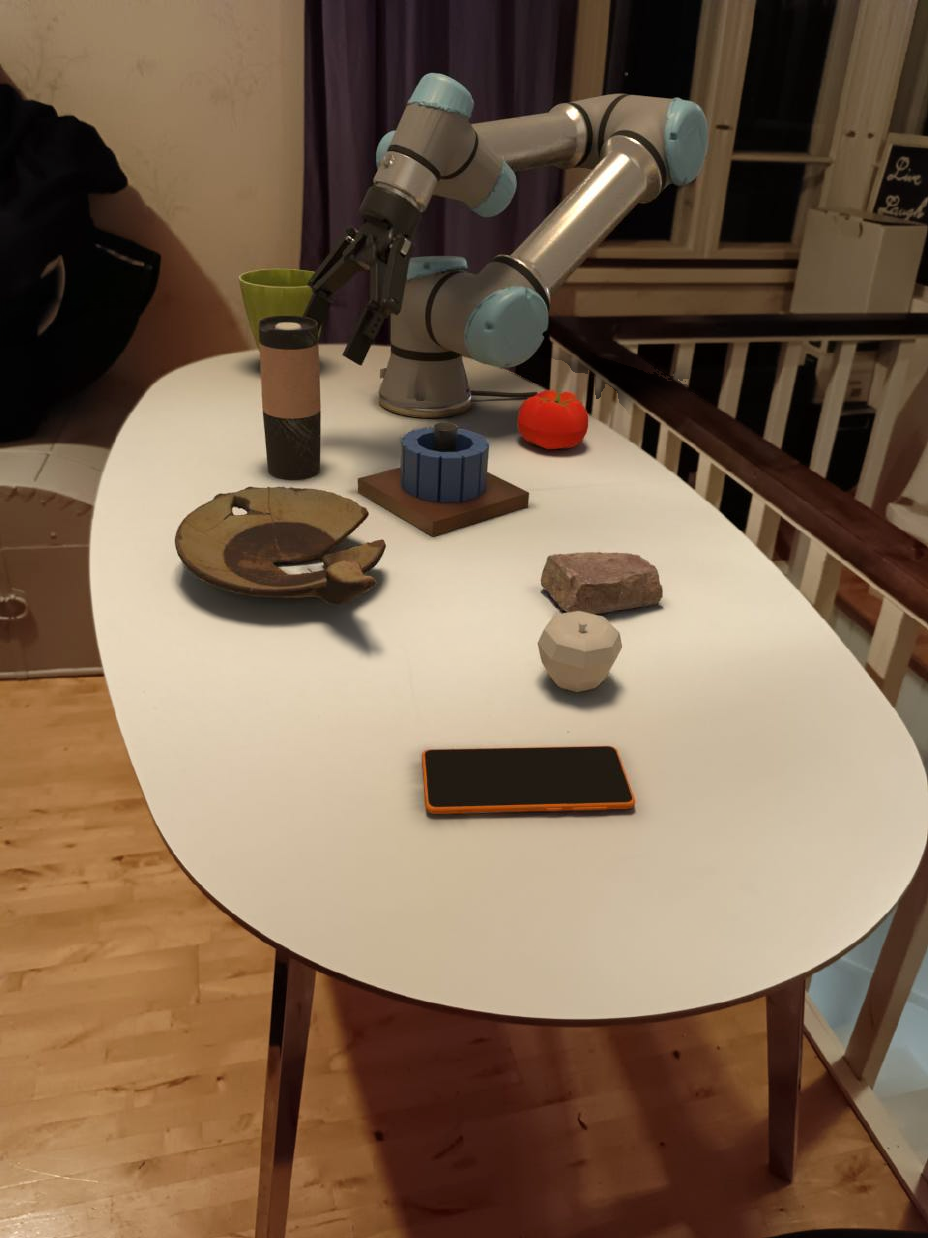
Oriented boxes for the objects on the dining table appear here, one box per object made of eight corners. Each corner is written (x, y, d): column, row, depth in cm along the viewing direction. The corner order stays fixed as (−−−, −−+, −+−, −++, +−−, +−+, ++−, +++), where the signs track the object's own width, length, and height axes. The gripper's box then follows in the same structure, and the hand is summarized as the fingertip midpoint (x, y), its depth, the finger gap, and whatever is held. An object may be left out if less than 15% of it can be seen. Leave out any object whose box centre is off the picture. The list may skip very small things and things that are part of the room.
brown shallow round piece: (361, 517, 120) (361, 459, 116) (416, 644, 95) (418, 576, 91) (176, 530, 114) (169, 470, 110) (184, 668, 89) (175, 597, 85)
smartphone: (421, 755, 80) (421, 747, 80) (614, 752, 82) (616, 744, 82) (426, 817, 74) (426, 809, 73) (636, 813, 76) (638, 804, 75)
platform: (451, 467, 135) (454, 398, 130) (528, 506, 125) (535, 433, 120) (357, 492, 126) (357, 419, 121) (432, 536, 116) (435, 459, 111)
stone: (625, 570, 111) (631, 533, 109) (667, 609, 104) (675, 571, 102) (534, 583, 107) (538, 546, 104) (571, 625, 100) (577, 586, 97)
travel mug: (327, 461, 135) (324, 317, 124) (314, 482, 128) (310, 332, 118) (274, 457, 135) (267, 312, 125) (259, 477, 129) (249, 327, 118)
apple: (570, 649, 96) (577, 592, 92) (633, 683, 91) (643, 625, 88) (516, 678, 91) (522, 619, 88) (580, 716, 86) (588, 656, 83)
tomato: (550, 462, 139) (555, 412, 135) (501, 438, 146) (505, 391, 142) (601, 448, 145) (608, 400, 141) (552, 426, 152) (557, 380, 148)
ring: (449, 463, 131) (451, 421, 128) (502, 490, 124) (506, 446, 121) (384, 480, 125) (384, 436, 122) (436, 509, 118) (438, 464, 115)
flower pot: (227, 368, 169) (220, 274, 161) (291, 353, 179) (287, 264, 171) (283, 388, 161) (278, 291, 153) (347, 371, 171) (346, 279, 163)
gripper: (327, 178, 129) (261, 322, 131) (430, 187, 111) (351, 355, 113) (369, 208, 134) (304, 347, 136) (474, 222, 116) (397, 382, 118)
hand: (325, 351), depth 125 cm, fingers open, 13 cm apart
